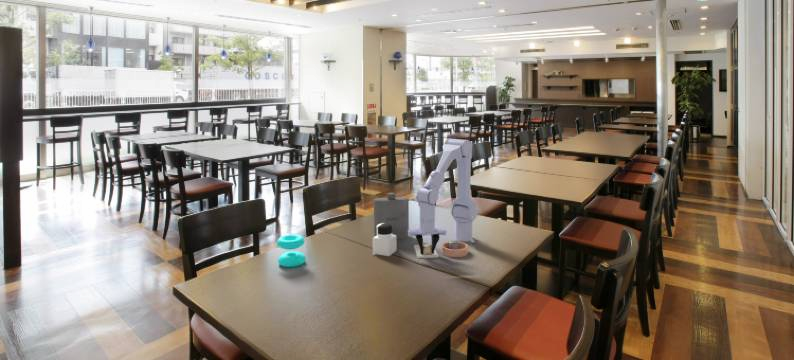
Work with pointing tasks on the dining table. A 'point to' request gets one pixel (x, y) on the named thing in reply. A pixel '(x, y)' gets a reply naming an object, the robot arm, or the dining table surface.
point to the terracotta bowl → (454, 253)
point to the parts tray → (424, 255)
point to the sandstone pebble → (427, 249)
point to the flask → (392, 214)
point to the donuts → (291, 257)
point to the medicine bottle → (384, 240)
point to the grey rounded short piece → (453, 245)
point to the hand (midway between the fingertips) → (427, 253)
